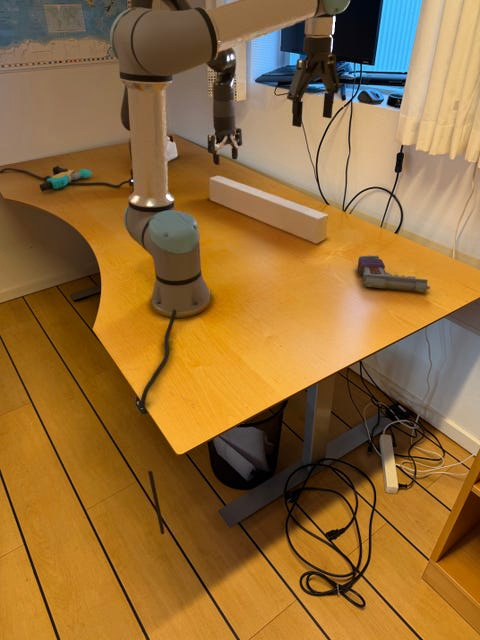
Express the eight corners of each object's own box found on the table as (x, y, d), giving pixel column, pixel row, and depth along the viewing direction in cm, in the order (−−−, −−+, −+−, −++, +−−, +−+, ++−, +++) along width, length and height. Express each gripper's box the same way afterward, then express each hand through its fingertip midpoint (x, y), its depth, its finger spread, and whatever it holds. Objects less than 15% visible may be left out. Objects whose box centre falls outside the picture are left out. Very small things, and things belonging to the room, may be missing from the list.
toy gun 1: (18, 179, 190) (45, 185, 184) (65, 161, 208) (91, 166, 203) (21, 190, 192) (48, 196, 187) (67, 171, 211) (93, 177, 205)
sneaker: (133, 173, 208) (129, 144, 201) (161, 153, 230) (158, 127, 223) (155, 175, 205) (151, 146, 198) (180, 155, 227) (178, 129, 220)
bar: (325, 239, 155) (328, 214, 150) (316, 243, 152) (318, 219, 147) (219, 196, 185) (218, 175, 180) (209, 199, 183) (208, 178, 178)
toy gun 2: (422, 269, 137) (428, 298, 126) (357, 263, 141) (356, 291, 129) (425, 258, 135) (432, 285, 123) (358, 252, 138) (358, 278, 126)
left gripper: (231, 108, 167) (233, 155, 177) (200, 115, 159) (203, 164, 169) (246, 111, 163) (247, 159, 172) (215, 119, 155) (217, 168, 164)
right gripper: (336, 31, 133) (328, 112, 146) (275, 39, 119) (273, 127, 132) (358, 33, 129) (348, 116, 141) (298, 41, 115) (293, 132, 127)
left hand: (225, 161), depth 171 cm, fingers open, 8 cm apart
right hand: (312, 121), depth 136 cm, fingers open, 13 cm apart
